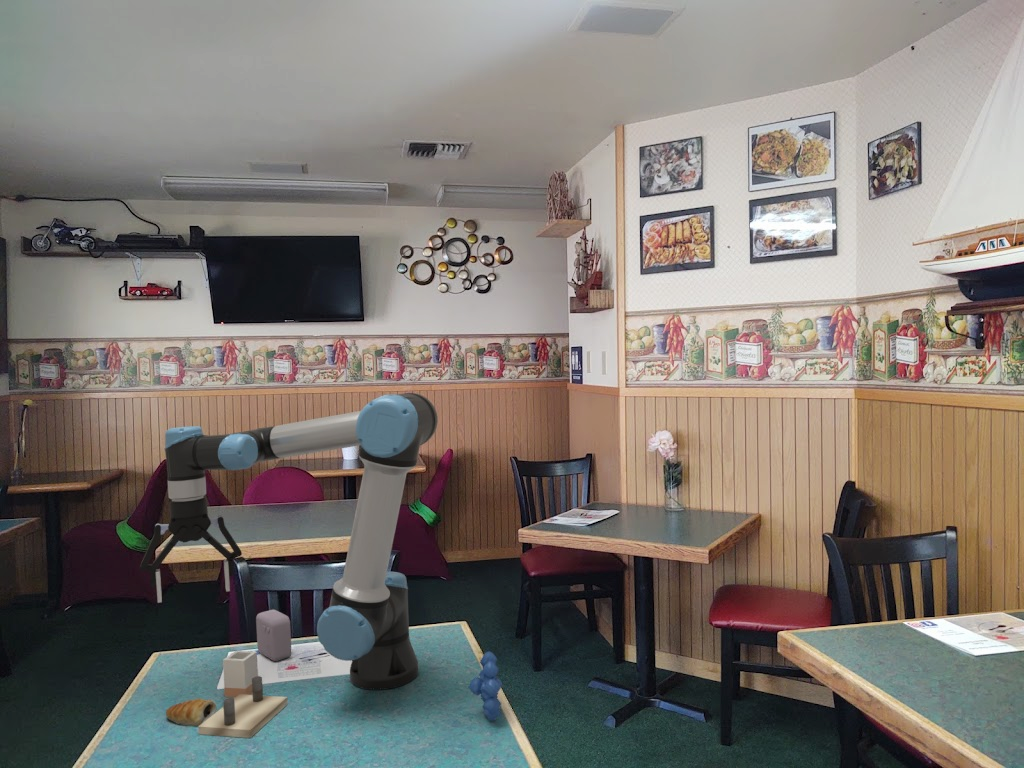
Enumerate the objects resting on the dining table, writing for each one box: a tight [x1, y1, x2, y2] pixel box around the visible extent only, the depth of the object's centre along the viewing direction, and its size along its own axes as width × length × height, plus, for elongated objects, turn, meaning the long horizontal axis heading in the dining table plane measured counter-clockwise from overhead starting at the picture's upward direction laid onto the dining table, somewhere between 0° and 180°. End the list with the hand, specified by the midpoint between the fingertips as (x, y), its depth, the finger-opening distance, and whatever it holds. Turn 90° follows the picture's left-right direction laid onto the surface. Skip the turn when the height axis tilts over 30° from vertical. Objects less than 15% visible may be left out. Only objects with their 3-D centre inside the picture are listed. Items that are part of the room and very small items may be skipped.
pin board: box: [197, 675, 288, 739], centre depth 148 cm, size 11×14×6 cm
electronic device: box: [255, 608, 292, 662], centre depth 181 cm, size 10×5×10 cm, turn 43°
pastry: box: [165, 698, 217, 727], centre depth 150 cm, size 9×7×4 cm
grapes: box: [468, 650, 503, 722], centre depth 146 cm, size 12×7×12 cm, turn 7°
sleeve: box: [222, 650, 259, 698], centre depth 160 cm, size 5×5×8 cm
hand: (194, 595), depth 161 cm, fingers open, 13 cm apart
